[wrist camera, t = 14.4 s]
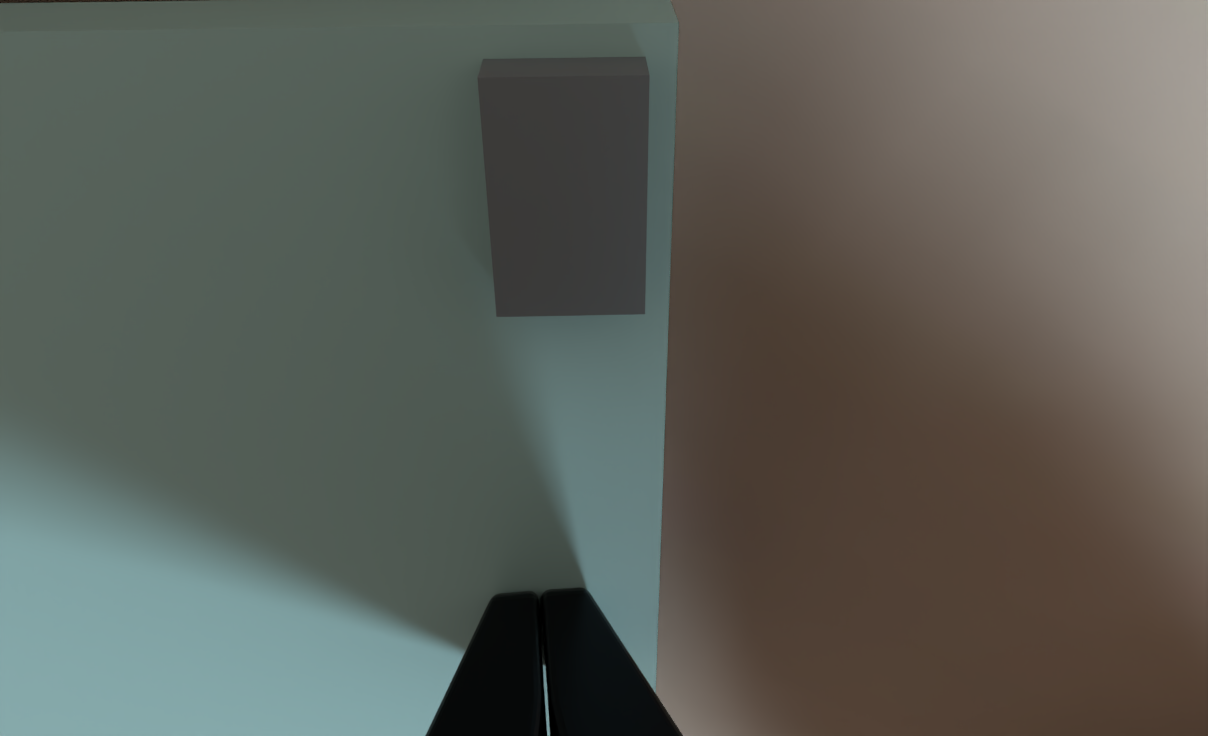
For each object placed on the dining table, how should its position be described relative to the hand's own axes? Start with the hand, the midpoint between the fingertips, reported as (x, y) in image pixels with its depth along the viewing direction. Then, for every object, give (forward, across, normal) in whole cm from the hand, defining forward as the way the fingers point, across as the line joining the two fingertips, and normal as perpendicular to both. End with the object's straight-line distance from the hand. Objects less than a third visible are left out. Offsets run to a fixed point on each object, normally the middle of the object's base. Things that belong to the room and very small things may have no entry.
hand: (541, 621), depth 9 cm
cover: (+1, +3, 0) cm, 3 cm away
